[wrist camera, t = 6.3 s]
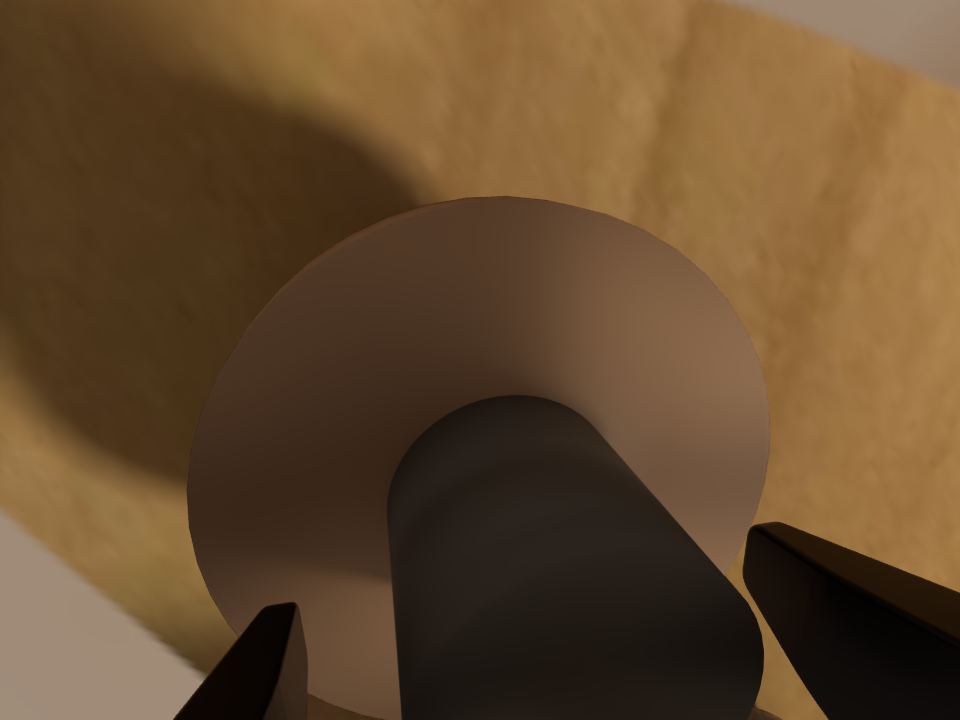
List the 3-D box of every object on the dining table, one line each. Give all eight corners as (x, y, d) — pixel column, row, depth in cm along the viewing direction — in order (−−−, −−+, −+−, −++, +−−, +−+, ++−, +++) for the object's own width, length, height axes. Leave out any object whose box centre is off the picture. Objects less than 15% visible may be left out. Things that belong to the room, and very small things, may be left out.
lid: (722, 623, 13) (917, 873, 9) (274, 731, 12) (216, 1105, 7) (754, 166, 10) (1110, 170, 5) (125, 234, 8) (-177, 329, 4)
